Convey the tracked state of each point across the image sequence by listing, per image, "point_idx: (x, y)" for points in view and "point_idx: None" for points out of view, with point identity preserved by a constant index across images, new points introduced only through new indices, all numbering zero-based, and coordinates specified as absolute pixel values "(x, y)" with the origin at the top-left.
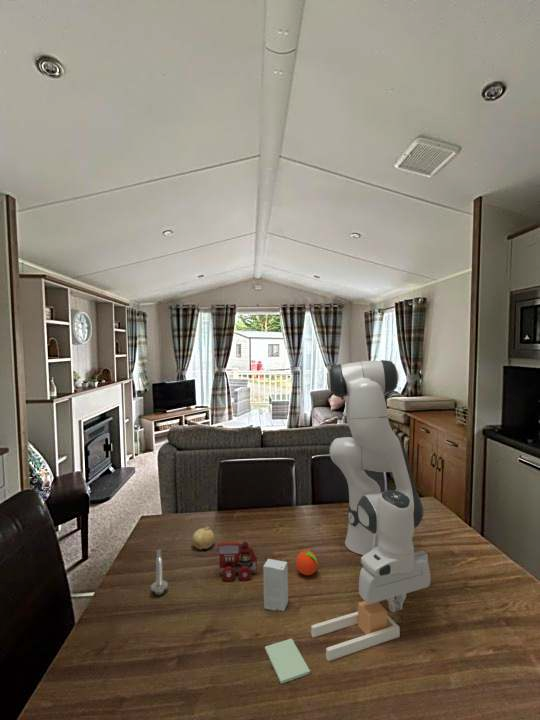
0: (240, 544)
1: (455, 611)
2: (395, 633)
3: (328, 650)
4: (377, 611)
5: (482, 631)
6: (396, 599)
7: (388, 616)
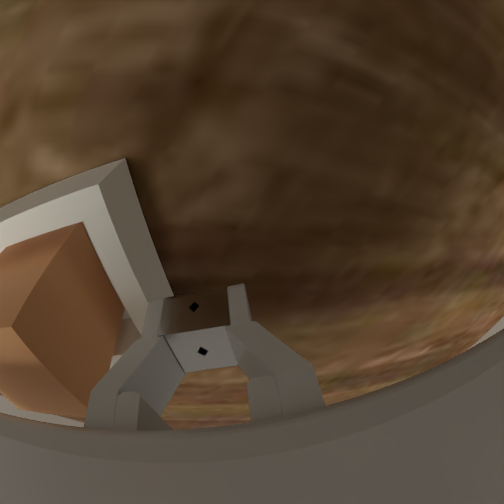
0: None
1: (496, 213)
2: None
3: None
4: (47, 408)
5: (471, 298)
6: (230, 334)
7: (142, 299)
